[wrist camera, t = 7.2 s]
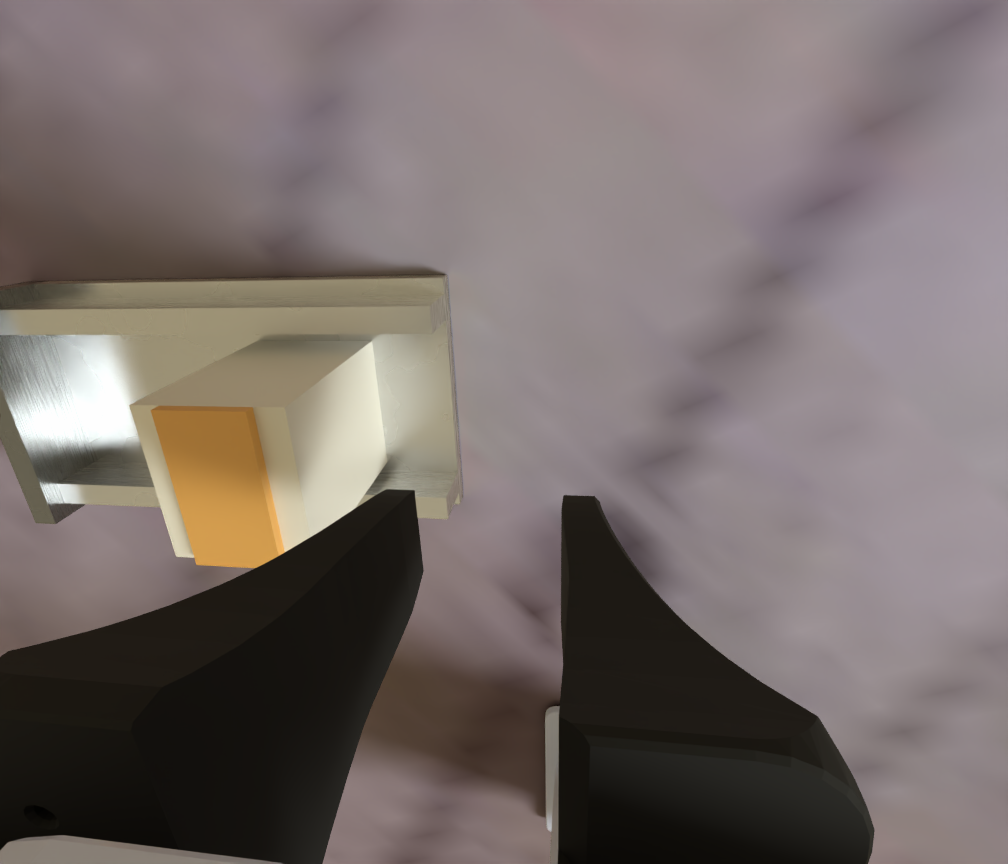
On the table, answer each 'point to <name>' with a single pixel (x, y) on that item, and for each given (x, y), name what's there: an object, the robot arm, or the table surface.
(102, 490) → the grey piece
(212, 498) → the block
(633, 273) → the table surface
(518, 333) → the table surface
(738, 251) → the table surface
